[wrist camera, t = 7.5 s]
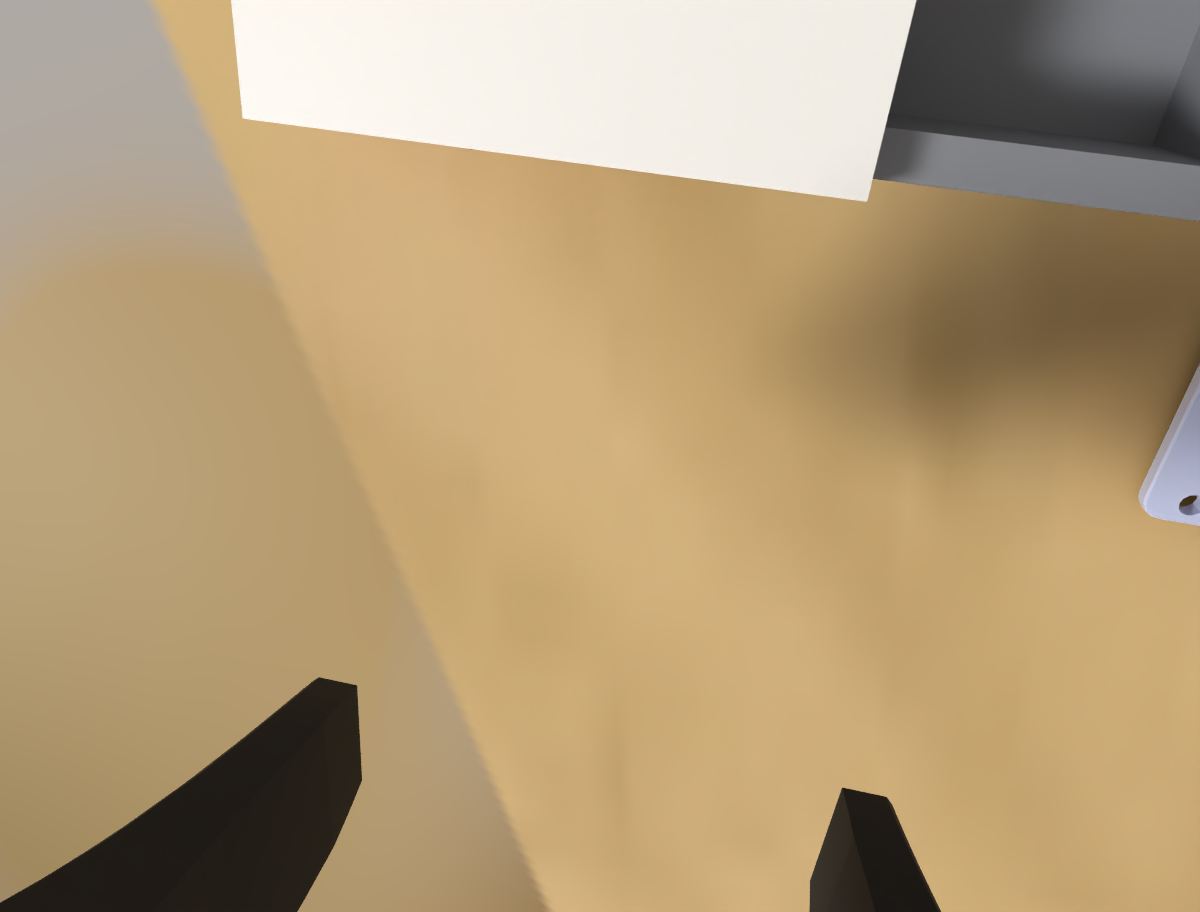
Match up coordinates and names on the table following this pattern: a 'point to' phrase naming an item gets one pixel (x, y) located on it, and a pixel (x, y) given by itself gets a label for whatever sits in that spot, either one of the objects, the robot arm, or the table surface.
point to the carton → (1051, 102)
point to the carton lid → (594, 80)
